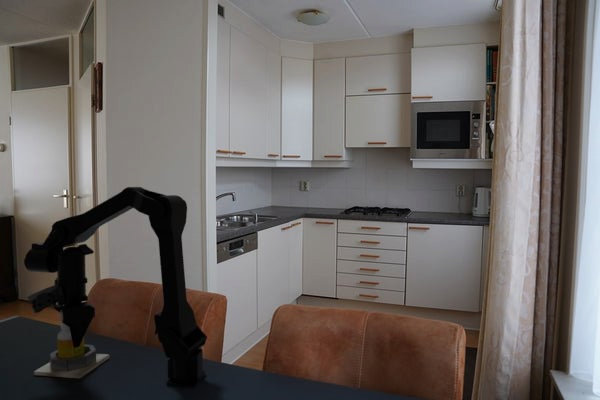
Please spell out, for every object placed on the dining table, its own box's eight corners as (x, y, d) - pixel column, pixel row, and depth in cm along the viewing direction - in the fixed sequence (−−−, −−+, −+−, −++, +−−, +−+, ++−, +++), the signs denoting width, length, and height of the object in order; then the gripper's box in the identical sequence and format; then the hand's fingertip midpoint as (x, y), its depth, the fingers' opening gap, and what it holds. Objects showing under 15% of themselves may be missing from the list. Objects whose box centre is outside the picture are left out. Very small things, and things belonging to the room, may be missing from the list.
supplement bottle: (76, 368, 96) (75, 325, 95) (52, 368, 96) (51, 325, 95) (88, 358, 101) (88, 317, 101) (66, 358, 101) (65, 317, 101)
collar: (109, 357, 104) (109, 344, 103) (79, 378, 93) (79, 363, 93) (68, 354, 105) (67, 341, 105) (34, 374, 94) (33, 360, 94)
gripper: (26, 271, 101) (27, 336, 101) (34, 287, 86) (36, 363, 86) (78, 265, 107) (80, 327, 108) (95, 279, 92) (96, 350, 93)
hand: (72, 340), depth 99 cm, fingers open, 9 cm apart
